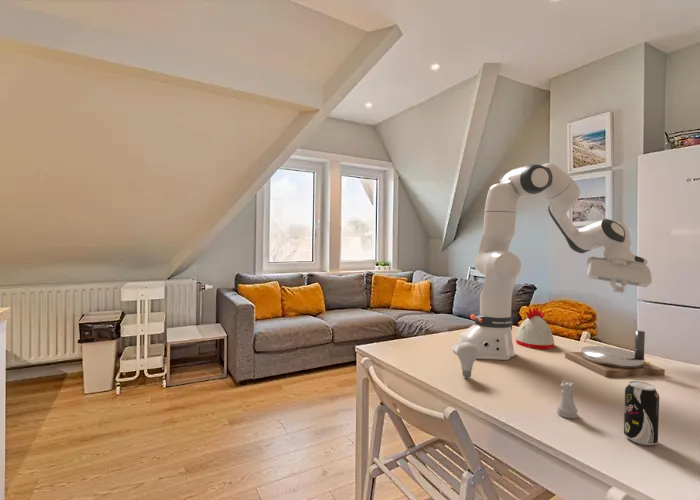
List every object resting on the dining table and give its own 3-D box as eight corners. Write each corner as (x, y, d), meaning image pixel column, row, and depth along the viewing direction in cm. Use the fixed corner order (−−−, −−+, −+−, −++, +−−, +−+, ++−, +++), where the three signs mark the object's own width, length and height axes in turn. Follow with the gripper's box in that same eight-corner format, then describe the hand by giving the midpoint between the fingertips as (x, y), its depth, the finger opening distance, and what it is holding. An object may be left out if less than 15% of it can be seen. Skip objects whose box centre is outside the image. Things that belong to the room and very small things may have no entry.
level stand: (605, 376, 116) (605, 369, 116) (565, 357, 135) (565, 351, 135) (664, 375, 117) (664, 368, 117) (616, 356, 136) (616, 350, 136)
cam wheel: (574, 358, 127) (574, 326, 126) (589, 348, 138) (590, 319, 138) (643, 373, 113) (644, 337, 112) (654, 361, 124) (655, 328, 124)
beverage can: (616, 433, 81) (618, 379, 81) (641, 433, 82) (643, 379, 81) (638, 448, 76) (640, 390, 75) (665, 447, 76) (667, 389, 76)
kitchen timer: (509, 340, 157) (509, 305, 157) (536, 339, 160) (537, 304, 160) (532, 350, 144) (533, 311, 143) (562, 348, 147) (563, 310, 146)
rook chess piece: (552, 410, 92) (553, 379, 92) (569, 410, 92) (570, 378, 92) (564, 419, 88) (565, 386, 87) (582, 419, 88) (583, 385, 88)
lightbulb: (477, 375, 116) (477, 340, 115) (477, 382, 110) (477, 346, 110) (456, 373, 118) (457, 338, 117) (455, 380, 112) (456, 344, 112)
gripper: (589, 251, 145) (589, 282, 138) (652, 260, 138) (655, 293, 132) (584, 260, 150) (584, 290, 144) (644, 268, 143) (647, 300, 137)
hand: (618, 291), depth 138 cm, fingers closed
